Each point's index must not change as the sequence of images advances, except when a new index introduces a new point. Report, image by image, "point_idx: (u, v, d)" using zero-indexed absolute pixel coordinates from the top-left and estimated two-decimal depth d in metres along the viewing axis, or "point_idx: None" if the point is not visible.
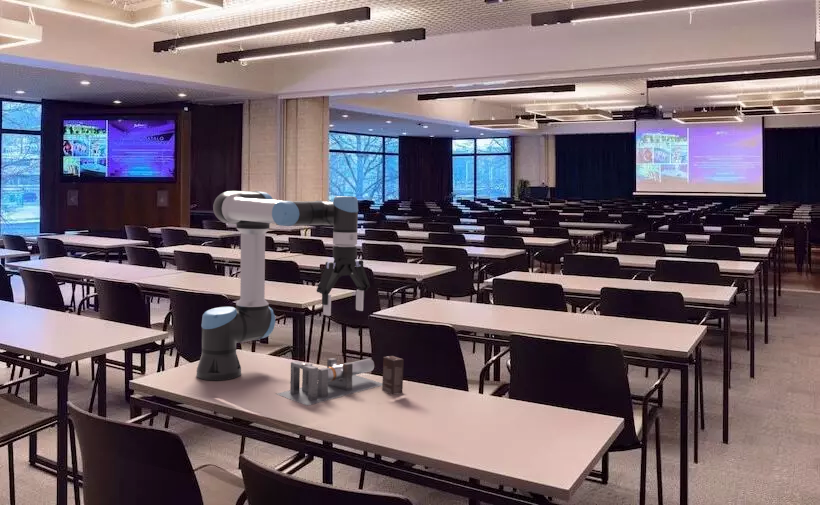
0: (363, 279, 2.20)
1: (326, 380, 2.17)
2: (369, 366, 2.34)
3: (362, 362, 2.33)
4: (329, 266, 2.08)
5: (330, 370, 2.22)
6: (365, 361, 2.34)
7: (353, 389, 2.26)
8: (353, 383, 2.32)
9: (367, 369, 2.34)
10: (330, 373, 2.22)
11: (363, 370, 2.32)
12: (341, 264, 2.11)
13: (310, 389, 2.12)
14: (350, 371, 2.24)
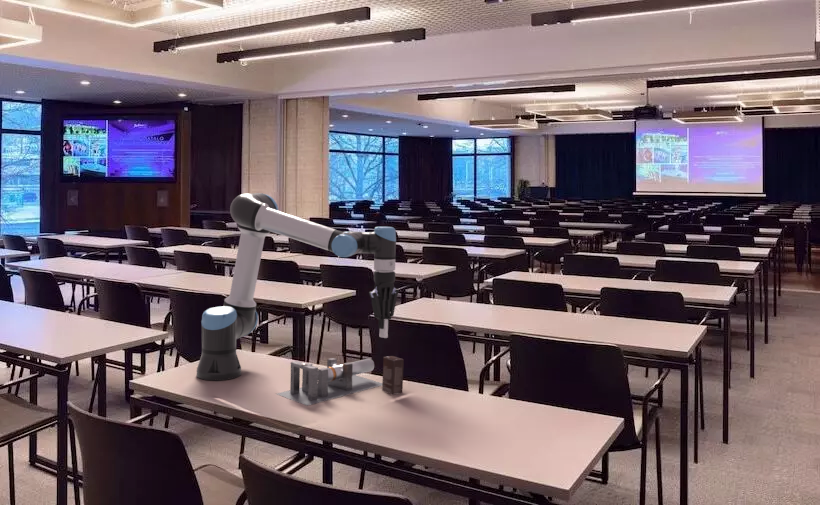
0: (391, 306, 2.42)
1: (326, 380, 2.17)
2: (369, 366, 2.34)
3: (362, 362, 2.33)
4: (374, 296, 2.35)
5: (330, 370, 2.22)
6: (365, 361, 2.34)
7: (353, 389, 2.26)
8: (353, 383, 2.32)
9: (367, 369, 2.34)
10: (330, 373, 2.22)
11: (363, 370, 2.32)
12: (381, 286, 2.37)
13: (310, 389, 2.12)
14: (350, 371, 2.24)
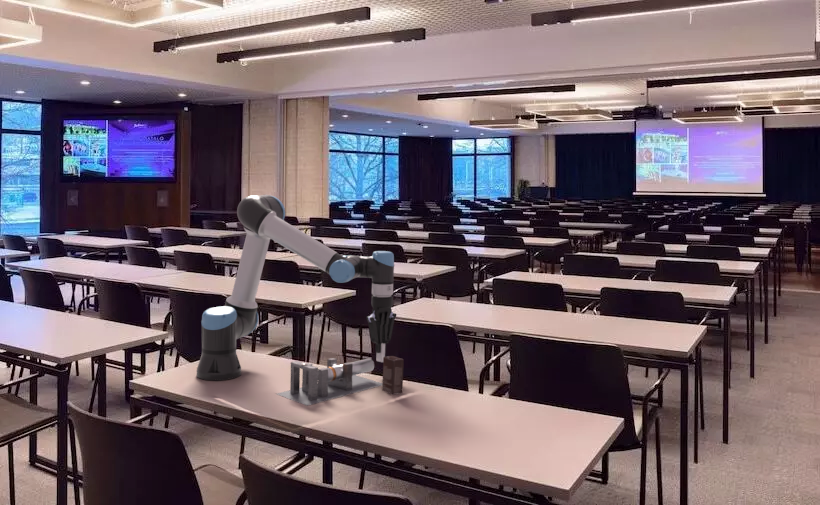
0: (388, 330, 2.42)
1: (326, 380, 2.17)
2: (369, 366, 2.34)
3: (362, 362, 2.33)
4: (371, 321, 2.35)
5: (330, 370, 2.22)
6: (365, 361, 2.34)
7: (353, 389, 2.26)
8: (353, 383, 2.32)
9: (367, 369, 2.34)
10: (330, 373, 2.22)
11: (363, 370, 2.32)
12: (379, 311, 2.37)
13: (310, 389, 2.12)
14: (350, 371, 2.24)
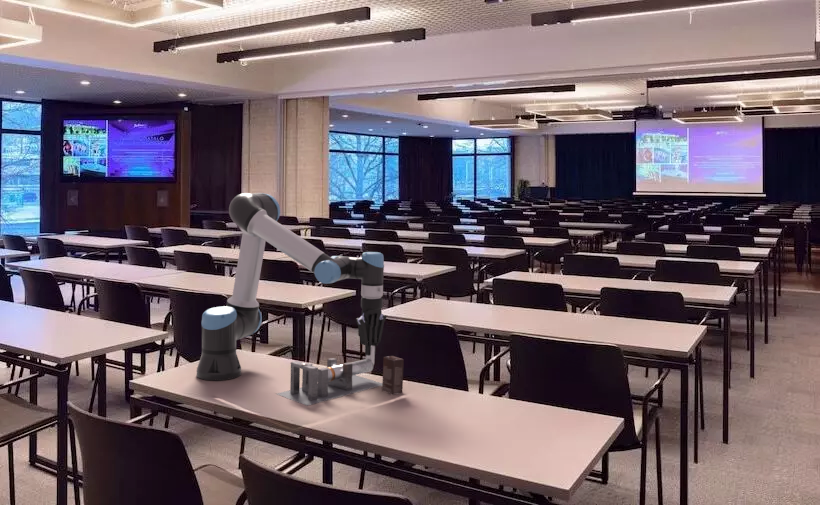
0: (378, 332, 2.39)
1: (326, 380, 2.17)
2: (368, 366, 2.34)
3: (361, 362, 2.33)
4: (360, 323, 2.32)
5: (329, 370, 2.22)
6: (364, 361, 2.34)
7: (353, 389, 2.26)
8: (353, 383, 2.32)
9: (366, 369, 2.33)
10: (329, 373, 2.21)
11: (362, 370, 2.32)
12: (368, 313, 2.33)
13: (310, 389, 2.12)
14: (350, 371, 2.24)
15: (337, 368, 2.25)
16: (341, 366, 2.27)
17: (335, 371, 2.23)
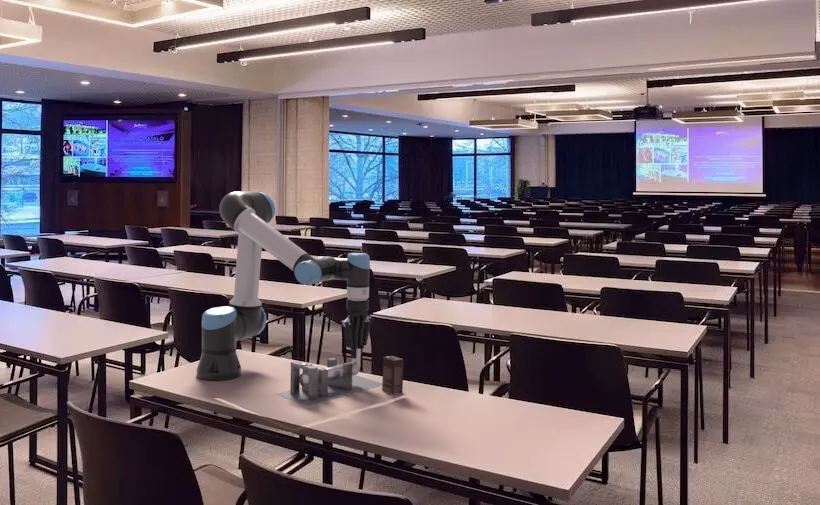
0: (364, 335, 2.34)
1: (326, 380, 2.17)
2: (354, 369, 2.29)
3: None
4: (346, 326, 2.27)
5: None
6: None
7: (353, 389, 2.26)
8: (353, 383, 2.32)
9: None
10: None
11: None
12: (354, 315, 2.29)
13: (310, 389, 2.12)
14: (350, 371, 2.24)
15: None
16: None
17: None
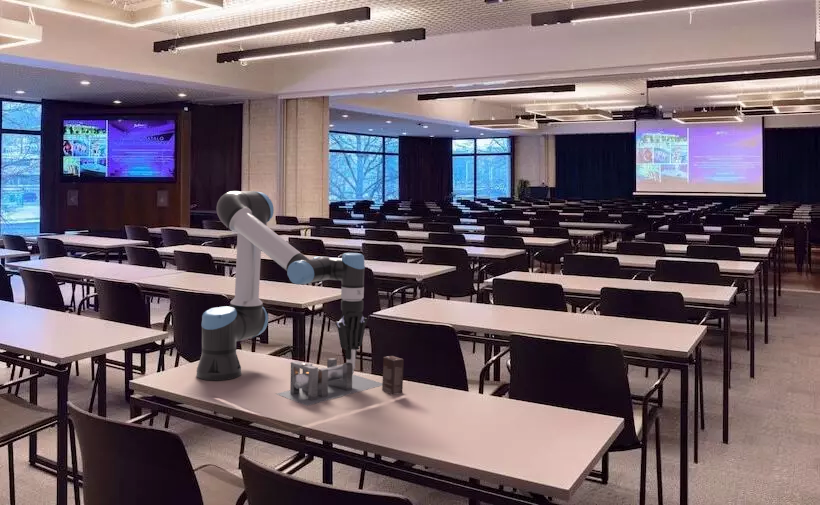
0: (359, 336, 2.32)
1: (326, 380, 2.17)
2: None
3: (341, 367, 2.26)
4: (340, 326, 2.25)
5: (307, 375, 2.15)
6: None
7: (353, 389, 2.26)
8: (353, 383, 2.32)
9: None
10: (307, 379, 2.15)
11: (342, 375, 2.25)
12: (348, 316, 2.27)
13: (310, 389, 2.12)
14: (350, 371, 2.24)
15: None
16: None
17: None
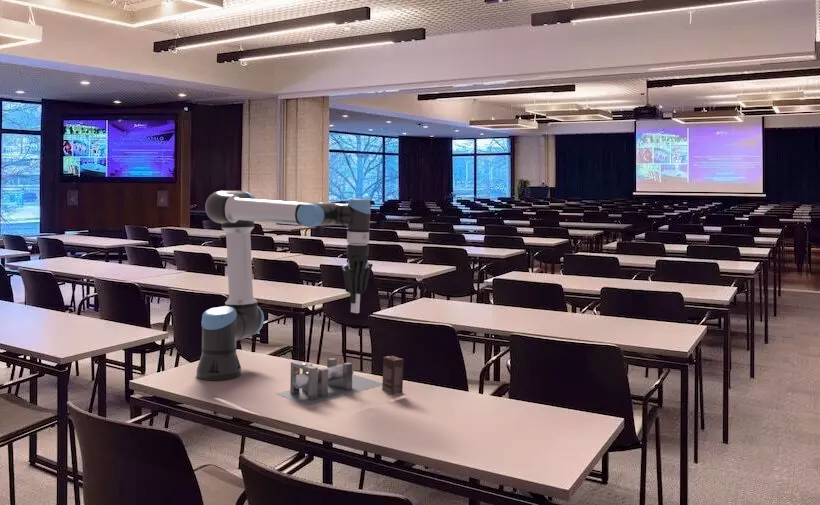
0: (364, 281, 2.36)
1: (326, 380, 2.17)
2: None
3: (341, 367, 2.26)
4: (345, 270, 2.28)
5: (307, 375, 2.15)
6: None
7: (353, 389, 2.26)
8: (353, 383, 2.32)
9: None
10: (307, 379, 2.15)
11: (342, 375, 2.25)
12: (354, 260, 2.30)
13: (310, 389, 2.12)
14: (350, 371, 2.24)
15: None
16: None
17: None
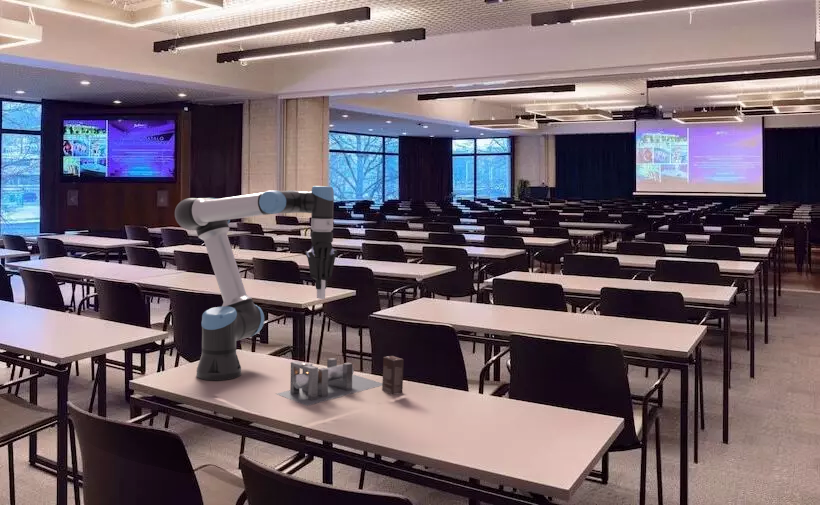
0: (329, 267, 2.39)
1: (326, 380, 2.17)
2: None
3: (341, 367, 2.26)
4: (310, 256, 2.32)
5: (307, 375, 2.15)
6: None
7: (353, 389, 2.26)
8: (353, 383, 2.32)
9: None
10: (307, 379, 2.15)
11: (342, 375, 2.25)
12: (318, 246, 2.34)
13: (310, 389, 2.12)
14: (350, 371, 2.24)
15: None
16: None
17: None
